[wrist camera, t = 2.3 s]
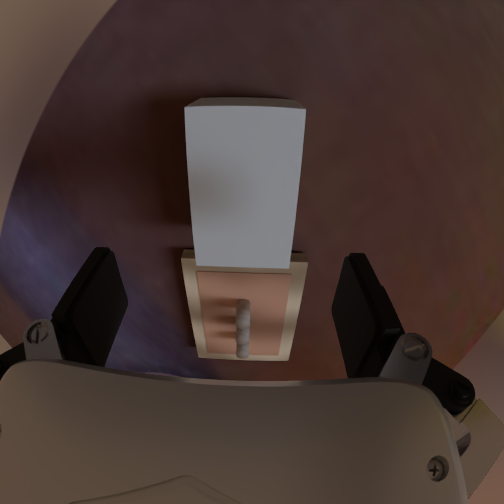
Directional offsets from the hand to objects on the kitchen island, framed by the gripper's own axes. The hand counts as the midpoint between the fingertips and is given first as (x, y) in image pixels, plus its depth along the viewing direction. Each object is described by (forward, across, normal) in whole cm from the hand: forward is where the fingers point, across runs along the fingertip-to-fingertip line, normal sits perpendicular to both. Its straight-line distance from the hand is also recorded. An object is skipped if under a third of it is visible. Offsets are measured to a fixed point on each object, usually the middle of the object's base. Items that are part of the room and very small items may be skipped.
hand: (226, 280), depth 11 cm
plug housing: (+10, 0, -1) cm, 11 cm away
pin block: (+11, -1, +13) cm, 17 cm away
